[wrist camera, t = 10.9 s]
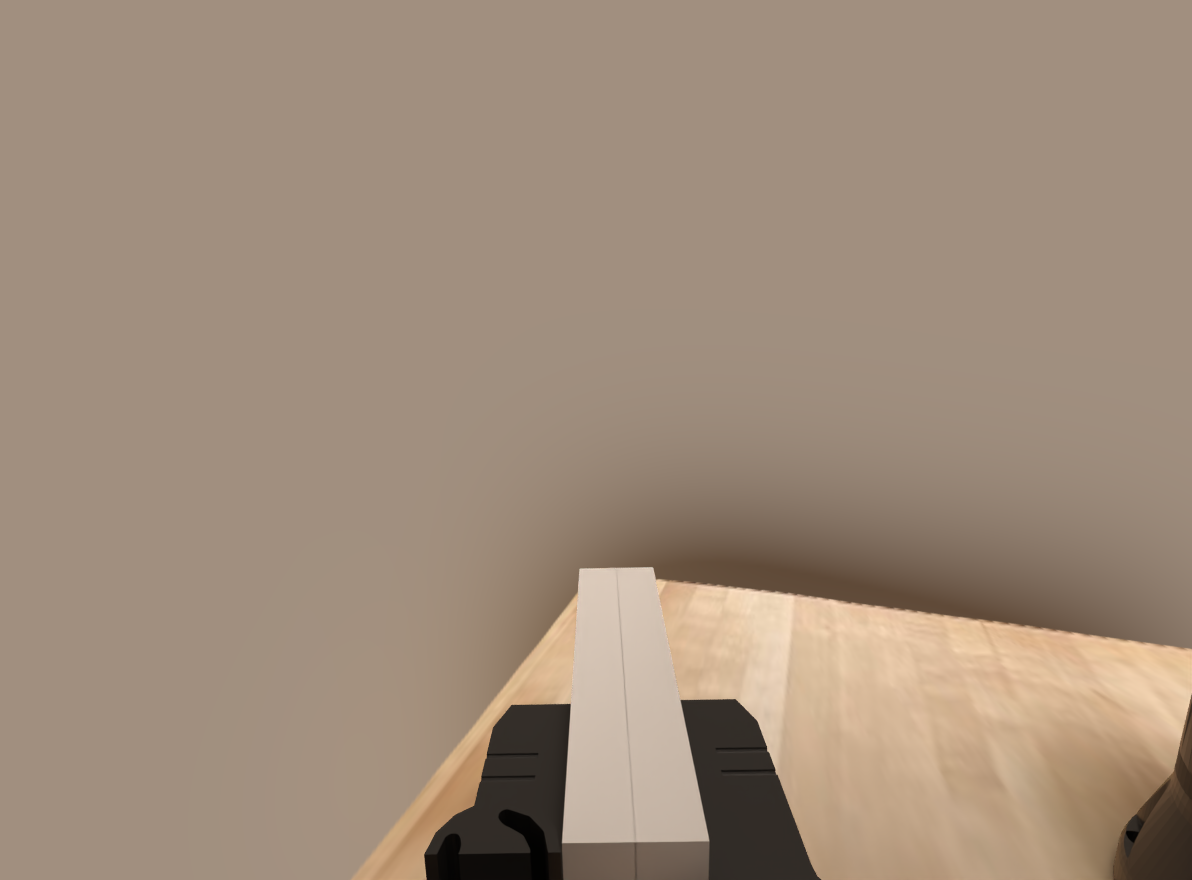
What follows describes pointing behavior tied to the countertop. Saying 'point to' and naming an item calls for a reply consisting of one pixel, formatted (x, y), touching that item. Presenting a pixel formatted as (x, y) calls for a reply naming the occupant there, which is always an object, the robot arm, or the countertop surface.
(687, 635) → the countertop surface
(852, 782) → the countertop surface
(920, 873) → the countertop surface
